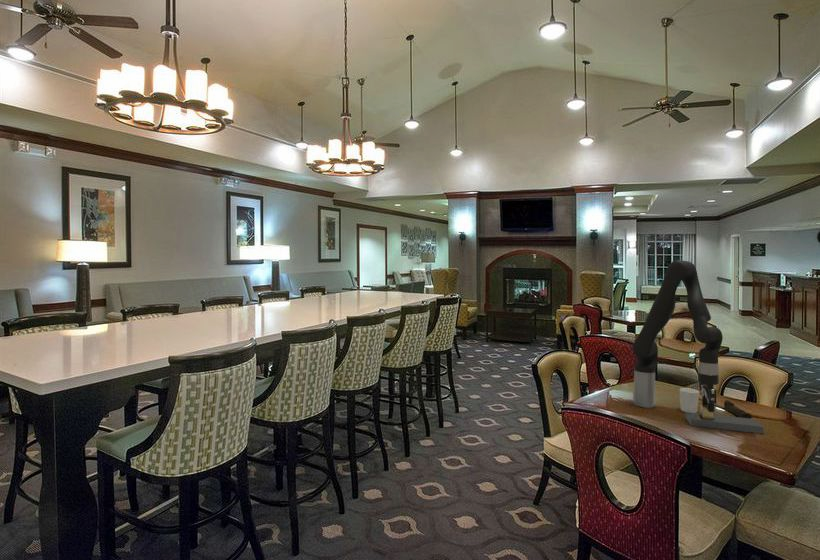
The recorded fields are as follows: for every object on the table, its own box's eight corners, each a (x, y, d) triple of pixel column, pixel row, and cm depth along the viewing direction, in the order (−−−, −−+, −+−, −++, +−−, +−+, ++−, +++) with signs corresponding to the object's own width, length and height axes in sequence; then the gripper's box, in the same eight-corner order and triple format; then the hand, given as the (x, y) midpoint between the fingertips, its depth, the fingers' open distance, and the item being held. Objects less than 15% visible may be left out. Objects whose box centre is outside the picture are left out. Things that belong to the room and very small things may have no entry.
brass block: (702, 425, 195) (702, 407, 195) (700, 422, 199) (700, 404, 199) (713, 426, 194) (713, 408, 194) (710, 423, 198) (710, 405, 197)
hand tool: (752, 422, 200) (752, 412, 200) (742, 421, 201) (742, 411, 201) (730, 409, 218) (731, 399, 218) (721, 408, 219) (722, 399, 219)
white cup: (700, 410, 215) (700, 390, 214) (696, 414, 209) (697, 393, 208) (681, 407, 220) (681, 387, 220) (677, 410, 214) (677, 390, 214)
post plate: (690, 425, 194) (691, 419, 194) (685, 418, 204) (685, 411, 203) (763, 433, 185) (763, 426, 185) (754, 425, 195) (754, 419, 194)
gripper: (694, 368, 204) (693, 403, 204) (703, 375, 190) (702, 413, 191) (713, 369, 201) (713, 405, 201) (723, 376, 188) (723, 414, 188)
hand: (708, 409), depth 196 cm, fingers open, 8 cm apart
